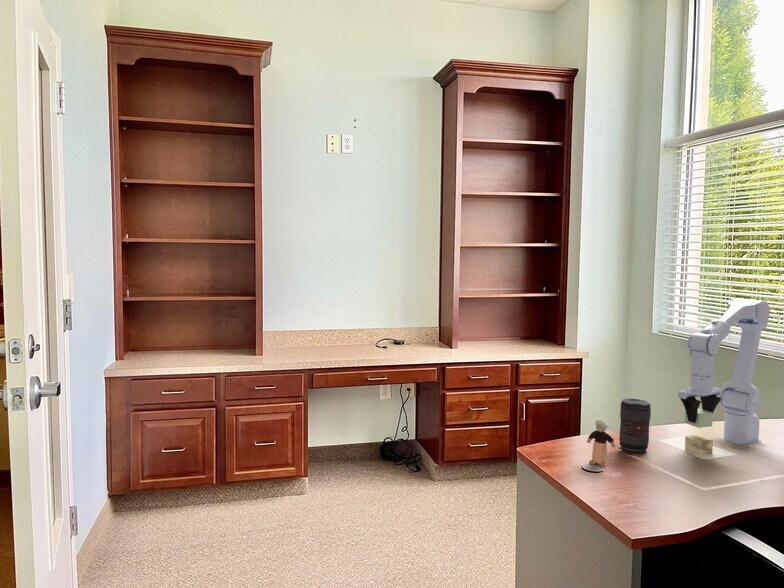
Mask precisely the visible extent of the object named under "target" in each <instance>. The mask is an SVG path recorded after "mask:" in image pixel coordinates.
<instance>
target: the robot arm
mask: <svg viewBox="0 0 784 588" xmlns="http://www.w3.org/2000/svg"><path fill="white" fill-rule="evenodd" d="M726 306H727V307H726V311H724V313H723V315H721V317H720V318H718V319H712V320H711V321H710V322H709V323H708V324H707V325H706V326H705V327H704V328H703V329H702V330H701V331H699V332H694V333H692V334H691V335H689V337H688V341H687V350H688V353H689V355H688V356H689V358H690V375H689V377H690V378H689V386H688V387H687V388H685V389H682V390H678V395H677V396H678V397H677V398H679V399H680V401H681V402H682V404H683V407H684V411H685V410H686V413H687V418H688V421H689V422H692V423H696V419H697V411H698V408H699V407H700V405H701V407H702V408H701V409H703V410H706V411H709V412H713V413H714V412H715V409H716V408H717V406H718V404H719V406H720V408H722V411H724V421H723V422H724V425H723V435H722V434H720V435H716V437H718V438H720V439H724V440H726V441H729V442H732V443H735V444H737V445H743V444H744V445H745V444H751V443H756V442H757V443H758V442H759V443H762V440H760V439H759V436H760V418H759V416H758V414H756V413H757V412H758V411H759V409H760V405H761V401H760V400H761V399H760V398H761V397H760V395H761V391H760V390H759V388H757V387H756V386H755V385H754V384H753V382H752V381H753V376H754V372H755V371H754V370H755V368H756V367H755V365H756V362H757V356H758V351H759V346H760V341H761V335H762V331H763V330H765V329H766V328H767V327H768V323H769V318H770V313H771V310H770V306H769V303H768V302H767V301H766V300H765V299H761V300H759V299H748V298H747V299H744V298H737V297H732V298H731V299H730V300H729V301H728V302H727V305H726ZM734 325H736V326H738V327H739V328H740V329H741V335H740V341H739V346H738V350H737V355H736V360H735V365H734V370H733V376H732V379H730V380H729V381H726V382H724V383H723V385H722V388H721V387H713V384H714V383H713V382H714V381H713V380H714V366H715V365H714V364H715V362H714V361H715V355H716V354H717V353H718V351H719V349H720V346H721V344H722V342H723V341H724V340H725V339H726V337H728V336H729V335H730V332H731V327H733V326H734ZM699 397H700V400H698V399H697V398H699Z"/></svg>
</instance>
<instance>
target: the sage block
mask: <svg viewBox="0 0 784 588" xmlns="http://www.w3.org/2000/svg"><path fill="white" fill-rule="evenodd" d="M713 417H714V412H709V411H706V410H703V409H702V408H698V411H697V419H696V423H692V422H689V421H688V418H687V413H686V410H685V409H684V424H686V425H690V426H691V427H695V428H698V429H700V428H707V427H708V428H709V427H713V420H714V418H713Z"/></svg>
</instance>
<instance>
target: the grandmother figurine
mask: <svg viewBox="0 0 784 588" xmlns="http://www.w3.org/2000/svg"><path fill="white" fill-rule="evenodd" d="M608 428H609V425H608V423H607V421H606V420H605V419H604V418H597V419H596V420H595V429H596V430H593V431H592V432H591V433H590V434H589V435H588V437H587V440H586V443H588V444H590V443H591V442H592V441H593V439H594V441H593V444H592V453H591V459H590V460H589V462H588V463H589V464H591V465H597V464H598V466H599V465H600V466H599V467H606V466H607V457H608V456H607V455H608V446H607V445H608V443H609V444H610V446H611V448H613V449H615V448H616V446H617V445H616V444H615V439H614V438H613V437H612V436H611V435H610V434H608V433H607V432H606V430H607V429H608ZM607 442H608V443H607ZM596 463H597V464H596Z"/></svg>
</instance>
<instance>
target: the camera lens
mask: <svg viewBox="0 0 784 588" xmlns="http://www.w3.org/2000/svg"><path fill="white" fill-rule="evenodd" d="M651 412H652V407H651V402H649V401H647V400H644V399H638V398H624V399H623V398H622V399H621V402H620V412H619V415H620V417H619V418H620V426H619V446H621V447H620V448H621V449H620V450H621V452H622V453H624V454H627V455H630V456H634V455H641V454H646V452H647V449H648V448H649V440H650V421H651V414H652V413H651Z"/></svg>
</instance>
